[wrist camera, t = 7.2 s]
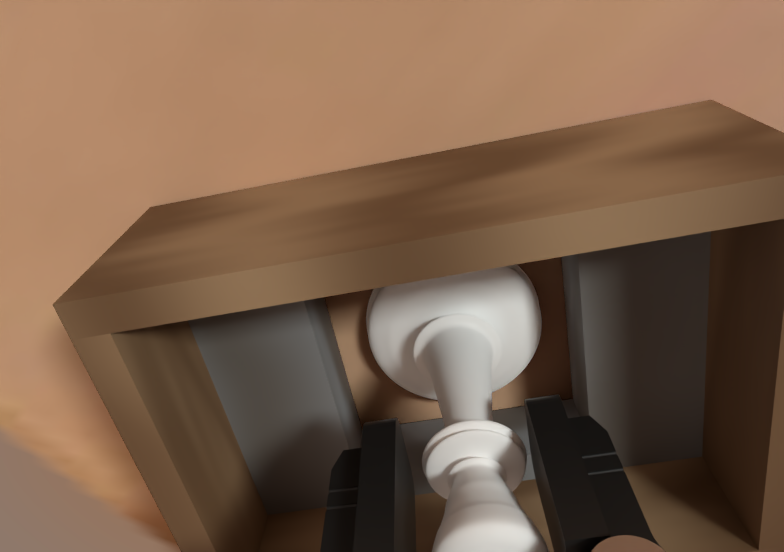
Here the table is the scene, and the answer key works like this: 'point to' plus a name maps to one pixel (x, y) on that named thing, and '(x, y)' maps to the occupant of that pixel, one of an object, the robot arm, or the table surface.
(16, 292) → the table surface
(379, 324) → the chess piece
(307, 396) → the walnut box
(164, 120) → the table surface
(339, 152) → the table surface
